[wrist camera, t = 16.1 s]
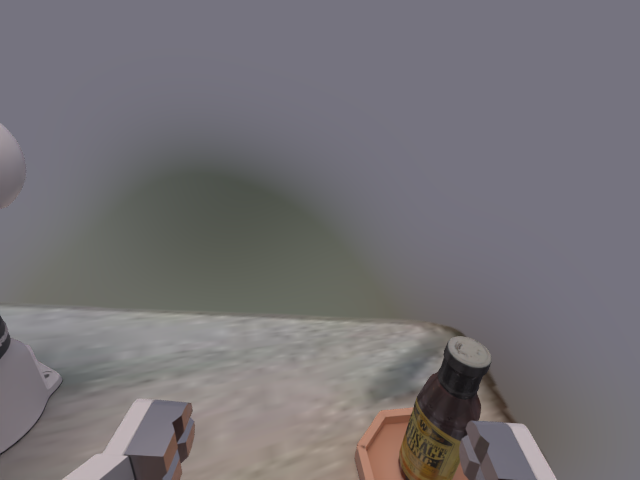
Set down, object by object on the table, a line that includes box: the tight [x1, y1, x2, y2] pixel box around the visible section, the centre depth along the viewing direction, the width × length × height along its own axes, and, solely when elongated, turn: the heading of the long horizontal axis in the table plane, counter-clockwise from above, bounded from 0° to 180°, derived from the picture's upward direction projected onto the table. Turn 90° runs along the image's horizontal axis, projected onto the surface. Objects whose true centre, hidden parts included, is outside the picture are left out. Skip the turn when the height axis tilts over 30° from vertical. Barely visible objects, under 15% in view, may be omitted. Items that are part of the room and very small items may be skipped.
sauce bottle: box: [398, 336, 491, 480], centre depth 37 cm, size 7×6×20 cm
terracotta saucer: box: [355, 408, 469, 480], centre depth 41 cm, size 15×15×2 cm
